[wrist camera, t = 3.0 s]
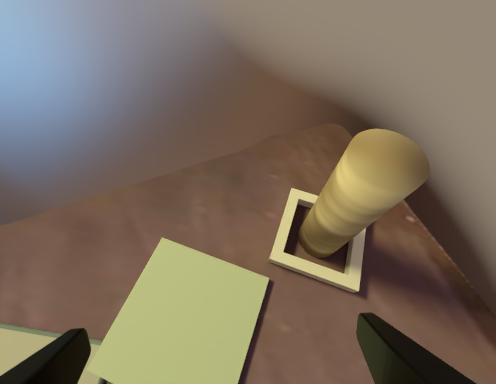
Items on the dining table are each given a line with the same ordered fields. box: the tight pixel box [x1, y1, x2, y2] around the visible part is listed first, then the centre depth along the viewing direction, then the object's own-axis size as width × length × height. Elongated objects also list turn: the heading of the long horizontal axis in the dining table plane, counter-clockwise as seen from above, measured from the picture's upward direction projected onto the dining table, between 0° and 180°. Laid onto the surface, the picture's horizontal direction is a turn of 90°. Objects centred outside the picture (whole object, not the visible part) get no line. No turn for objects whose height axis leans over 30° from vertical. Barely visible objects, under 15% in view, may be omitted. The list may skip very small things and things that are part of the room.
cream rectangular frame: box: [269, 188, 366, 293], centre depth 23 cm, size 8×8×1 cm
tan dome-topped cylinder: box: [298, 129, 429, 258], centre depth 17 cm, size 4×4×13 cm
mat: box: [87, 238, 269, 384], centre depth 19 cm, size 11×11×1 cm
